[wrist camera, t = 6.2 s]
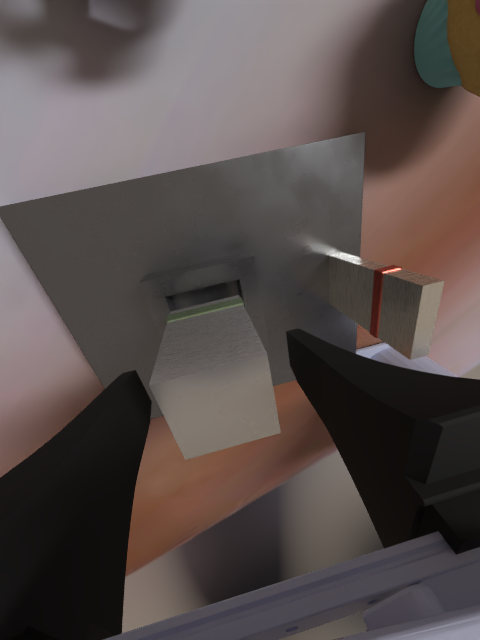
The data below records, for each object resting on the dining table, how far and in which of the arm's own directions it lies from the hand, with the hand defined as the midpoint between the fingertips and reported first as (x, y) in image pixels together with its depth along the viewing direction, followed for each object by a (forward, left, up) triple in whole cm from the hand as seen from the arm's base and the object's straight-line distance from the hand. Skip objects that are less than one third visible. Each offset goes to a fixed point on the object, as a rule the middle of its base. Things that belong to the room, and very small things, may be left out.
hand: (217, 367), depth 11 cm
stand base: (0, 0, -8) cm, 8 cm away
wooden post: (0, 0, -4) cm, 4 cm away
